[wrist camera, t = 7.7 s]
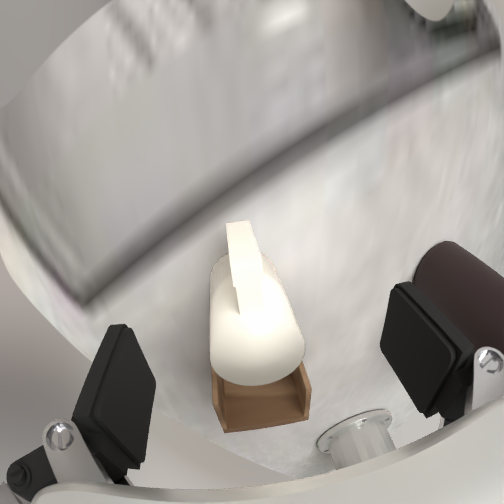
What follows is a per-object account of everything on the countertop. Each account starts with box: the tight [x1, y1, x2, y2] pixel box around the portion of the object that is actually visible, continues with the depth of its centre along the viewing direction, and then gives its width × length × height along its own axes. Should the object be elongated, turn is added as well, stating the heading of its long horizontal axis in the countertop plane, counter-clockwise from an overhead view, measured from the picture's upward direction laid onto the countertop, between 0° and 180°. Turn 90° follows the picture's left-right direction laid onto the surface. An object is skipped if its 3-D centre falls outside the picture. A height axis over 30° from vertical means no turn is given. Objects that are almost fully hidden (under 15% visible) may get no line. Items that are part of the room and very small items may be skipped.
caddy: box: [212, 361, 312, 433], centre depth 22 cm, size 5×7×6 cm
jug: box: [210, 220, 305, 386], centre depth 17 cm, size 8×5×8 cm, turn 6°
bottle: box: [414, 241, 504, 355], centre depth 14 cm, size 7×7×20 cm
